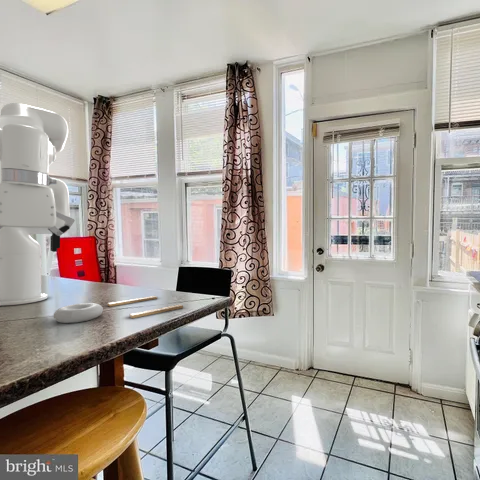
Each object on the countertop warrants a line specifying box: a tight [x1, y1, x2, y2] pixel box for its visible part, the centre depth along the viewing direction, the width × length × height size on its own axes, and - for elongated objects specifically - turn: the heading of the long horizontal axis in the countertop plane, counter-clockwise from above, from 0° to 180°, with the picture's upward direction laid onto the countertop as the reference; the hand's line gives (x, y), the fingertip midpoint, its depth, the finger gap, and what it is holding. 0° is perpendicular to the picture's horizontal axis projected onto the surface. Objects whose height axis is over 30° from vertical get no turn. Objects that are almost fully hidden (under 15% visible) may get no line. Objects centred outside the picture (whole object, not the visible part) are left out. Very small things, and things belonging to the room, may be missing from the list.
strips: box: [107, 295, 184, 319], centre depth 86 cm, size 20×14×1 cm
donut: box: [53, 302, 104, 324], centre depth 73 cm, size 10×4×10 cm
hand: (25, 252), depth 64 cm, fingers open, 9 cm apart
